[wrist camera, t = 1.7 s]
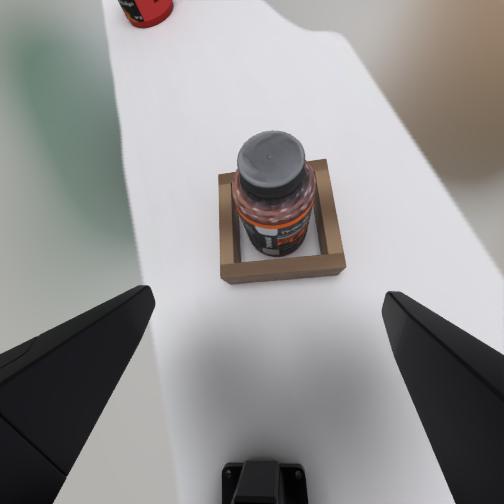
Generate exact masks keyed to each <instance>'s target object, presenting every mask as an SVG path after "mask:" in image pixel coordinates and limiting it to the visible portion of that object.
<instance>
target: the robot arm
mask: <svg viewBox="0 0 504 504" xmlns="http://www.w3.org/2000/svg"><path fill="white" fill-rule="evenodd" d="M154 308H155V299H154V296H153V293H152V290H151V288H150V286H148V285H139V286H136V287H134V288H132V289H130V290H128V291H126V292H124V293H122V294H120V295H118V296H116V297H114V298H112V299H110V300H108V301H106V302H104V303H102V304H100V305H98V306H96V307H94V308H92V309H90V310H88V311H86V312H84V313H82V314H80V315H78V316H77V317H74V318H72V319H70V320H68V321H66V322H65V323H62V324H60V325H58V326H56V327H55V328H52V329H50V330H48V331H46V332H44V333H42V334H40V335H39V336H37V337H34V338H32V339H30V340H28V341H26V342H24V343H22V344H21V345H18V346H16V347H14V348H12V349H10V350H8V351H6V352H4V353H2V354H0V504H53V502H54V500H55V499H56V497H57V495H58V493H59V491H60V489H61V487H62V486H63V483H64V482H65V480H66V476H68V474H69V472H70V470H71V468H72V467H73V465H74V463H75V461H76V459H77V458H78V456H79V454H80V452H81V450H82V448H83V446H84V445H85V443H86V441H87V439H88V437H89V435H90V433H91V432H92V430H93V428H94V426H95V424H96V422H97V420H98V418H99V417H100V415H101V413H102V411H103V409H104V407H105V406H106V404H107V402H108V400H109V398H110V396H111V395H112V393H113V391H114V389H115V387H116V385H117V384H118V382H119V380H120V378H121V376H122V374H123V372H124V371H125V369H126V367H127V365H128V363H129V361H130V359H131V358H132V356H133V354H134V352H135V350H136V348H137V346H138V345H139V342H140V340H141V338H142V336H143V334H144V332H145V329H146V327H147V324H148V322H149V320H150V317H151V315H152V313H153V310H154ZM382 317H383V320H384V324H385V327H386V331H387V334H388V338H389V341H390V345H391V348H392V351H393V354H394V357H395V360H396V363H397V365H398V367H399V370H400V372H401V375H402V377H403V379H404V382H405V384H406V386H407V389H408V391H409V394H410V396H411V398H412V401H413V403H414V406H415V408H416V410H417V413H418V415H419V418H420V420H421V422H422V425H423V427H424V429H425V432H426V434H427V437H428V439H429V441H430V444H431V446H432V449H433V451H434V453H435V456H436V458H437V460H438V463H439V465H440V468H441V470H442V472H443V475H444V477H445V480H446V482H447V484H448V487H449V489H450V491H451V494H452V496H453V499H454V501H455V503H456V504H504V355H503V354H501V353H500V352H498V351H496V350H495V349H493V348H491V347H490V346H488V345H487V344H485V343H483V342H482V341H480V340H478V339H477V338H475V337H474V336H472V335H470V334H469V333H467V332H465V331H464V330H462V329H461V328H459V327H457V326H456V325H454V324H452V323H451V322H449V321H448V320H446V319H444V318H443V317H441V316H439V315H438V314H436V313H434V312H433V311H431V310H430V309H428V308H426V307H425V306H423V305H421V304H420V303H418V302H417V301H415V300H413V299H412V298H410V297H408V296H407V295H405V294H404V293H402V292H399V291H388V292H387V293H386V295H385V299H384V303H383V307H382ZM226 470H229V471H230V472H231V474H230V475H228V474H227V473H226ZM297 471H300V472H301V473H302V474H301V476H297V475H296V474H295V473H296V472H297ZM222 504H308V496H307V487H306V477H305V470H304V468H303V467H302V466H301V465H299V464H279V463H278V462H277V461H246V462H245V463H228V464H226V465H225V466H224V468H223V470H222Z"/></svg>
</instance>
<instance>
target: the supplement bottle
mask: <svg viewBox="0 0 504 504" xmlns="http://www.w3.org/2000/svg"><path fill="white" fill-rule="evenodd" d="M237 166H238V169H237V171H236V172H235V175H234V178H233V182H232V195H233V200H234V203H235V205H236V208H237V211H238V213H239V215H240V217H241V220H242V222H243V225H244V227H245V229H246V231H247V234H248V236H249V239H250V240H251V242H252V244H253V245H254V246H255V247H256V249H258V250H259V251H260V252H262V253H264V254H267V255H270V256H283V255H287V254H289V253H291V252H293V251H294V250H296V249H297V248H298V247H299V246H300V245H301V244H302V242H303V240H304V238H305V235H306V232H307V227H308V224H309V219H310V215H311V210H312V206H313V202H314V197H315V191H316V179H315V175H314V172H313V170H312V168H311V166H310V164H309V163H308V162H307V161H306V160H305V152H304V149H303V146H302V145H301V143H300V142H299V141H298V140H297V139H296V138H295V137H293V136H292V135H291V134H288V133H285V132H282V131H266V132H262V133H259V134H257V135H255V136H253V137H252V138H250V139H249V140H248V141H246V142H245V143H244V145H243V146H242V148H241V149H240V151H239V154H238V159H237Z"/></svg>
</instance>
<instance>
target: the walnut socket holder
mask: <svg viewBox="0 0 504 504" xmlns="http://www.w3.org/2000/svg"><path fill="white" fill-rule="evenodd" d="M307 162H308V163H309V164H310V166H311V168H312V170H313V172H314V175H315V179H316V191H315V197H314V202H313V206H314V212H315V219H316V225H317V232H318V238H319V244H320V251H321V255H314V256H304V257H294V258H283V259H273V260H263V261H253V262H242V263H241V253H240V232H239V213H238V211H237V208H236V205H235V203H234V200H233V195H232V182H233V178H234V175H235V172H232V173H225V174H219V175H218V180H219V228H220V276H221V279H223V280H224V281H226V282H227V283H229V284H240V283H252V282H263V281H275V280H287V279H298V278H310V277H322V276H333V275H338V274H339V273H340V272H341V271H343V270H344V269H345V268H346V262H345V257H344V251H343V246H342V241H341V235H340V230H339V225H338V219H337V214H336V208H335V203H334V198H333V192H332V187H331V182H330V176H329V171H328V166H327V160H326V159H321V160H314V161H307Z"/></svg>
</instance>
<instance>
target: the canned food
mask: <svg viewBox="0 0 504 504" xmlns="http://www.w3.org/2000/svg"><path fill="white" fill-rule="evenodd" d="M118 2H119V3H120V5H121V7H122V9H123V11H124V13H125V15H126V17H127V18H128V19H129V21H130V22H131V23H132V24H133V25H135V26H137V27H143V28H145V27H151V26H154V25H156V24H158V23H160V22H162V21H163V20H165V19H166V18H167V17H168V16H169V14H170V13H171V11H172V6H173V5H172V0H118Z"/></svg>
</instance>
